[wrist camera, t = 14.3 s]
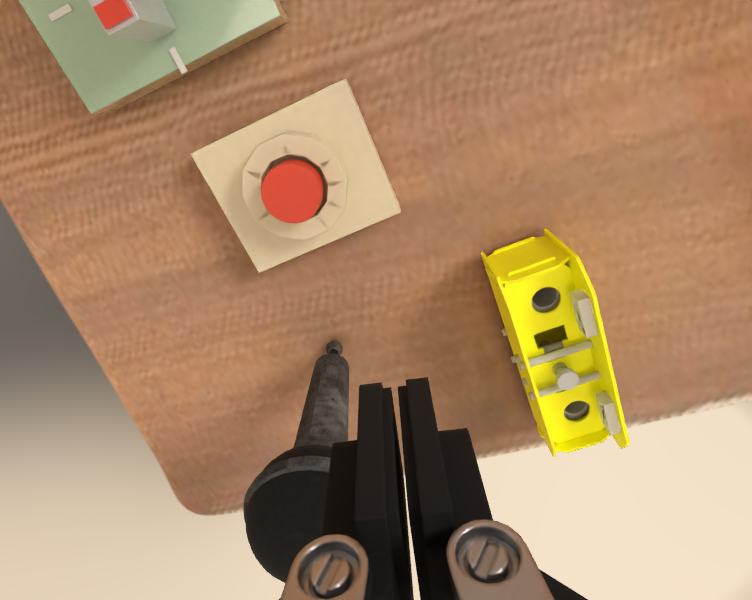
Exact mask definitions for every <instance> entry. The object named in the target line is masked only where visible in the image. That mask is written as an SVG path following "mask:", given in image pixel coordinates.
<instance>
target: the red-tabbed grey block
mask: <svg viewBox="0 0 752 600" xmlns="http://www.w3.org/2000/svg"><path fill="white" fill-rule="evenodd" d="M88 2H89V3H90V5H91V7H92V9H93V10H94V12H95V14H96V16H97V17H98V19H99V21H100V22H101V24H102V26H103V28H104V29H105V31H106V33H107V35H108V36H114V37H121V38H127V39H133V40H139V41H146V42H153V41H155V40H157V39H159V38H161V37H163V36H164V35H166V34H168V33H170V32H172V31H174V30H176V29H177V27H176V25H175V23H174V21H173V19H172V17H171V15H170V13H169V11H168V10H167V8H166V6H165V4H164V2H163V0H88Z"/></svg>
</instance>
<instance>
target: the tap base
mask: <svg viewBox="0 0 752 600" xmlns="http://www.w3.org/2000/svg"><path fill="white" fill-rule="evenodd" d="M18 1H19V2H20V4H21V5H22V7H23V9H24V10H25V12H26V13H27V15H28V16H29V18H30V20H31V21H32V23H33V24H34V26H35V27H36V29H37V30H38V32H39V34H40V35H41V37H42V38H43V40H44V41H45V43H46V45H47V46H48V48H49V49H50V51H51V52H52V54H53V55H54V57H55V59H56V60H57V62H58V63H59V65H60V66H61V68H62V70H63V71H64V73H65V74H66V76H67V77H68V79H69V81H70V82H71V84H72V85H73V87H74V88H75V90H76V91H77V93H78V95H79V96H80V98H81V99H82V101H83V102H84V104H85V106H86V107H87V109H88V110H89V112H90V113H91V114H95V113H103V112H111V111H116V110H118V109H120V108H122V107H124V106H125V105H127V104H129V103H131V102H133V101H135V100H137V99H139V98H141V97H143V96H145V95H147V94H149V93H151V92H153V91H154V90H156V89H158V88H160V87H162V86H164V85H166V84H168V83H170V82H172V81H174V80H176V79H178V78H180V77H182V76H184V75H185V74H187V73H189V72H191V71H193V70H195V69H197V68H199V67H201V66H203V65H205V64H207V63H209V62H211V61H213V60H214V59H216V58H218V57H220V56H222V55H224V54H226V53H228V52H230V51H232V50H234V49H236V48H238V47H240V46H242V45H243V44H245V43H247V42H249V41H251V40H253V39H255V38H257V37H259V36H261V35H263V34H265V33H267V32H269V31H271V30H273V29H274V28H276V27H278V26H280V25H282V24H284V23H286V22H288V18H287V16H286V14H285V12H284V9H283V7H282V5H281V3H280V0H163V2H164V4H165V6H166V8H167V10H168V11H169V13H170V15H171V17H172V19H173V21H174V23H175V25H176V27H177V29H176V30H174V31H172V32H170V33H168V34H166V35H164V36H163V37H161V38H159V39H157V40H155V41H153V42H146V41H139V40H133V39H127V38H121V37H114V36H108V35H107V33H106V31H105V29H104V28H103V26H102V24H101V22H100V21H99V19H98V17H97V16H96V14H95V12H94V10H93V9H92V7H91V5H90V3H89V2H88V0H18Z"/></svg>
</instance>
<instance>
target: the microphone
mask: <svg viewBox="0 0 752 600" xmlns="http://www.w3.org/2000/svg"><path fill="white" fill-rule="evenodd" d="M342 350H343V349H342V345H341V344H340V343H339V342H337V341H332V342H330V343H329V344H328V345H327V347H326V351H327V354H325V355H323V356H321V357H320V358H319V359H318V360H317V361H316V363H315V366H314V370H313V374H312V378H311V382H310V386H309V390H308V394H307V398H306V401H305V405H304V409H303V413H302V417H301V421H300V425H299V429H298V433H297V437H296V441H295V444H294V448H293V449H291V450H288V451H286V452H284V453H283V454H281V455H280V456H278V457H277V458H275V459H274V460H272V461H271V462H270V463H269V464H268V465H267V466H266V467H265V468H264V470H263V471H262V472H261V473H260V474H259V475H258V476H257V477H256V478H255V480H254V481H253V483H252V484H251V485H250V487H249V488H248V491H247V493H246V495H245V499H244V519H245V523H246V533H247V537H248V541H249V543H250V546H251V549H252V551H253V553H254V555H255V557H256V559H257V560H258V561H259V562H260V564H261V565H262V566H263V568H264V569H265V570H266V571H267V572H269V573H270V574H271V575H272V576H274V577H275V578H277V579H279V580H281V581H282V582H285V583H286V580H287V577H288V574H289V571H290V568H291V565H292V563H293V561H294V559H295V557H296V556H297V554H298V553H299V552H300V551H301V550H302V549H303V548H304V547H305V546H306V545H307V544H309V543H310V542H312V541H313V540H315V539H317V538H320V537H322V532H323V523H324V513H325V504H326V495H327V485H328V476H329V467H330V457H331V449H332V444H333V443H335V442H345V441H348V400H349V365H348V363H347V361H346V360H345V359H344V358H343V357H342V356H340V354H341V353H342Z"/></svg>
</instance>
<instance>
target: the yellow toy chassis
mask: <svg viewBox="0 0 752 600" xmlns="http://www.w3.org/2000/svg"><path fill="white" fill-rule="evenodd" d="M543 230H544V234H545V236H542V237H536V238H534V237H533V236H532V237H530V238H527V239H524V240H521V241H519V242H516V243H513V244H511V245H508V246H505V247H502V248H500V249H497V250H494V251H493V253H492V254H491V255H489V256H488V257H486V255H485V253H484V252H480V253H481V256H482V259H483V262H484V265H485V270H486V272H487V274H488V277H489V280H490V283H491V286H492V290H493V293H494V296H495V299H496V302H497V305H498V308H499V311H500V314H501V317H502V320H503V323H504V327H505V328H504V329H501V331H502V333H503V336H506V335H507V336H508V339H509V342H510V345H511V348H512V351H513V354H514V356H512V357H510V358H511V361H512V363H517V367H518V370H519V373H520V376H521V380H522V383H523V385H524V388H525V391H526V394H527V397H528V400H529V403H530V407H531V410H532V413H533V416H534V418H535V420H536V422H537V424H538V425H537V429H538V432H539V434H540V436H541V437H542V438H544V439H545V441H546V443H547V445H548V447H549V449H550V451H551V453H552V455H553V457H554V456H556V451H560V452H571V451H575V450H578V449H582V448H585V447H588V446H592V445H595V444H598V443H601V442H603V441H604V440H606V438H607V437H609V436H610V435H612V436H613V437H614V439H615V440H616V442H617V443H618V445H619V446H620V447H621V449H622V448H625V447H626V446H627V445H629V444H630V442H629V438H628V433H627V429H626V425H625V420H624V416H623V411H622V407H621V403H620V398H619V394H618V389H617V385H616V381H615V376H614V372H613V368H612V363H611V359H610V354H609V350H608V346H607V341H606V337H605V333H604V328H603V324H602V319H601V315H600V311H599V306H598V302H597V298H596V293H595V291H594V288H593V286H592V284H591V282H590V280H589V277H588V275H587V273H586V271H585V269H584V266H583V264H582V262H581V260H580V258H579V256H578V255H577V254H576V253H574V252H573V251H572V250H571V249H570V248H569V247H567V246H566V245H565V244H564V243H563V242H562V241H560V240H559V239H558V238H557V237H556V236H555V235H553V234H552V233H551V232H550V231H549V230H548V229H546V228H545V229H543ZM584 290H585V291H586V293H587V294H588V296H589V297H588V296H587V295H586V293H585V292H584ZM590 300H591V302H590ZM591 303H592V306H593V310H594V313H593V311H592V307H591ZM618 420H619V421H618ZM619 423H620V426H621V428H620V426H619Z"/></svg>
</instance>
